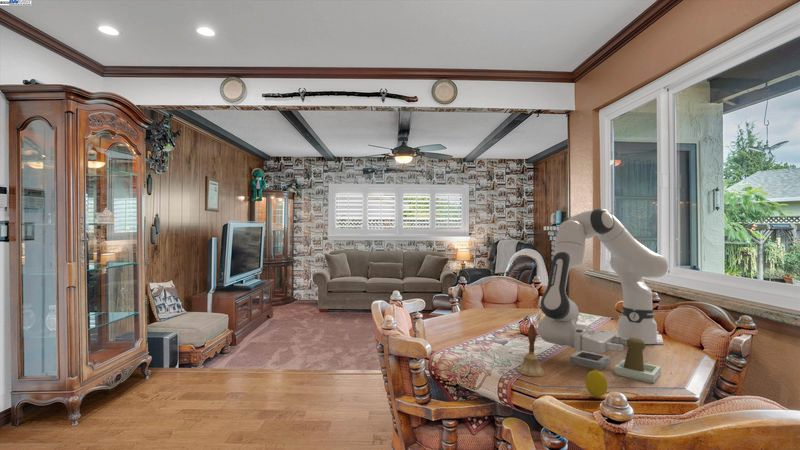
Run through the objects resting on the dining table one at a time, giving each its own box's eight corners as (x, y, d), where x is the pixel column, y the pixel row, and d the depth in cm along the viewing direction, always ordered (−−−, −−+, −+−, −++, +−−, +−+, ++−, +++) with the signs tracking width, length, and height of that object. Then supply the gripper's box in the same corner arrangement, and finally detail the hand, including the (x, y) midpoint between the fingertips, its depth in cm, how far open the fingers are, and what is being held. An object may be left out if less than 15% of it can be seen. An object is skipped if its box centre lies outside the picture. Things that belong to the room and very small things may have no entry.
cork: (648, 375, 124) (650, 343, 122) (628, 375, 124) (630, 343, 123) (638, 366, 130) (640, 335, 128) (619, 365, 130) (621, 335, 129)
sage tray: (623, 366, 135) (623, 358, 135) (660, 374, 128) (660, 366, 128) (614, 374, 127) (614, 366, 127) (653, 383, 120) (653, 375, 120)
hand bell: (541, 369, 131) (542, 322, 132) (546, 378, 123) (546, 328, 123) (516, 367, 133) (517, 321, 133) (519, 376, 125) (520, 326, 125)
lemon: (593, 402, 105) (594, 373, 105) (581, 394, 111) (581, 366, 111) (612, 401, 106) (612, 372, 106) (598, 393, 112) (598, 365, 112)
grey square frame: (579, 356, 145) (579, 350, 145) (609, 363, 138) (609, 356, 138) (570, 363, 138) (570, 356, 138) (600, 370, 130) (600, 363, 131)
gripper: (592, 340, 146) (633, 348, 137) (573, 351, 131) (618, 361, 122) (592, 323, 147) (633, 330, 137) (573, 333, 132) (618, 341, 122)
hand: (626, 345), depth 129 cm, fingers open, 8 cm apart
